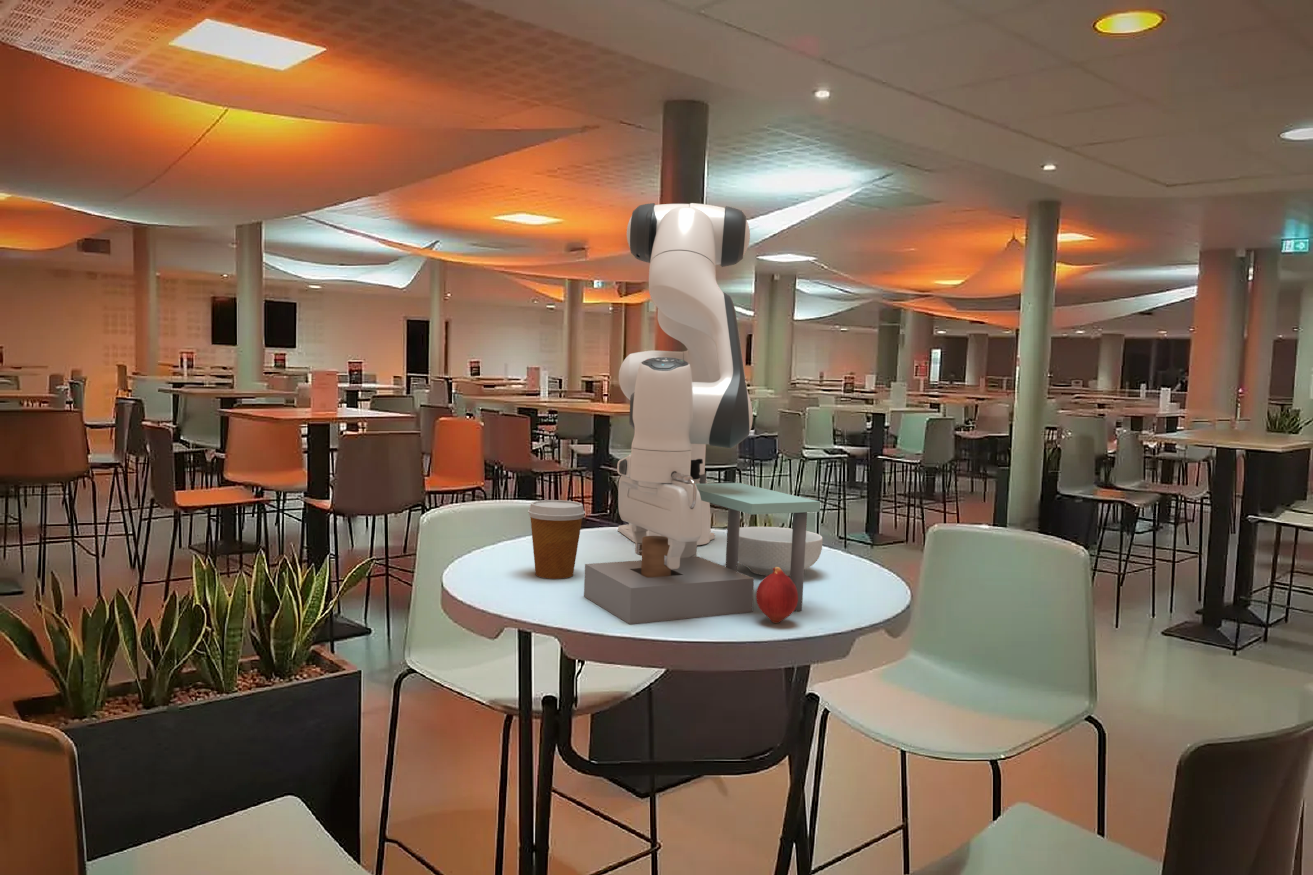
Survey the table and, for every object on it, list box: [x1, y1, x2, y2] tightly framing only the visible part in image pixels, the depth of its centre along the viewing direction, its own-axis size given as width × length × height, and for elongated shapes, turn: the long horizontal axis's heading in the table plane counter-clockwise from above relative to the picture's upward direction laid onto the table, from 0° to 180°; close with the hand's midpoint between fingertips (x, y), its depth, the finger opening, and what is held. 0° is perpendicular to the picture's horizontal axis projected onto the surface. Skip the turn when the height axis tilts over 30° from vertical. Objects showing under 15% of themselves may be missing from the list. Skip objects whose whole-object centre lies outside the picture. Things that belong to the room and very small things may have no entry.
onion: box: [755, 567, 798, 624], centre depth 126 cm, size 6×6×8 cm
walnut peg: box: [641, 536, 671, 578], centre depth 133 cm, size 4×4×10 cm
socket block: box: [583, 556, 755, 625], centre depth 134 cm, size 16×20×5 cm
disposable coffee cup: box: [527, 499, 586, 580], centre depth 150 cm, size 10×10×12 cm
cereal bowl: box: [738, 526, 824, 577], centre depth 160 cm, size 17×17×7 cm
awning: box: [695, 482, 821, 612], centre depth 140 cm, size 22×12×16 cm, turn 27°
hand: (656, 561), depth 133 cm, fingers open, 8 cm apart
